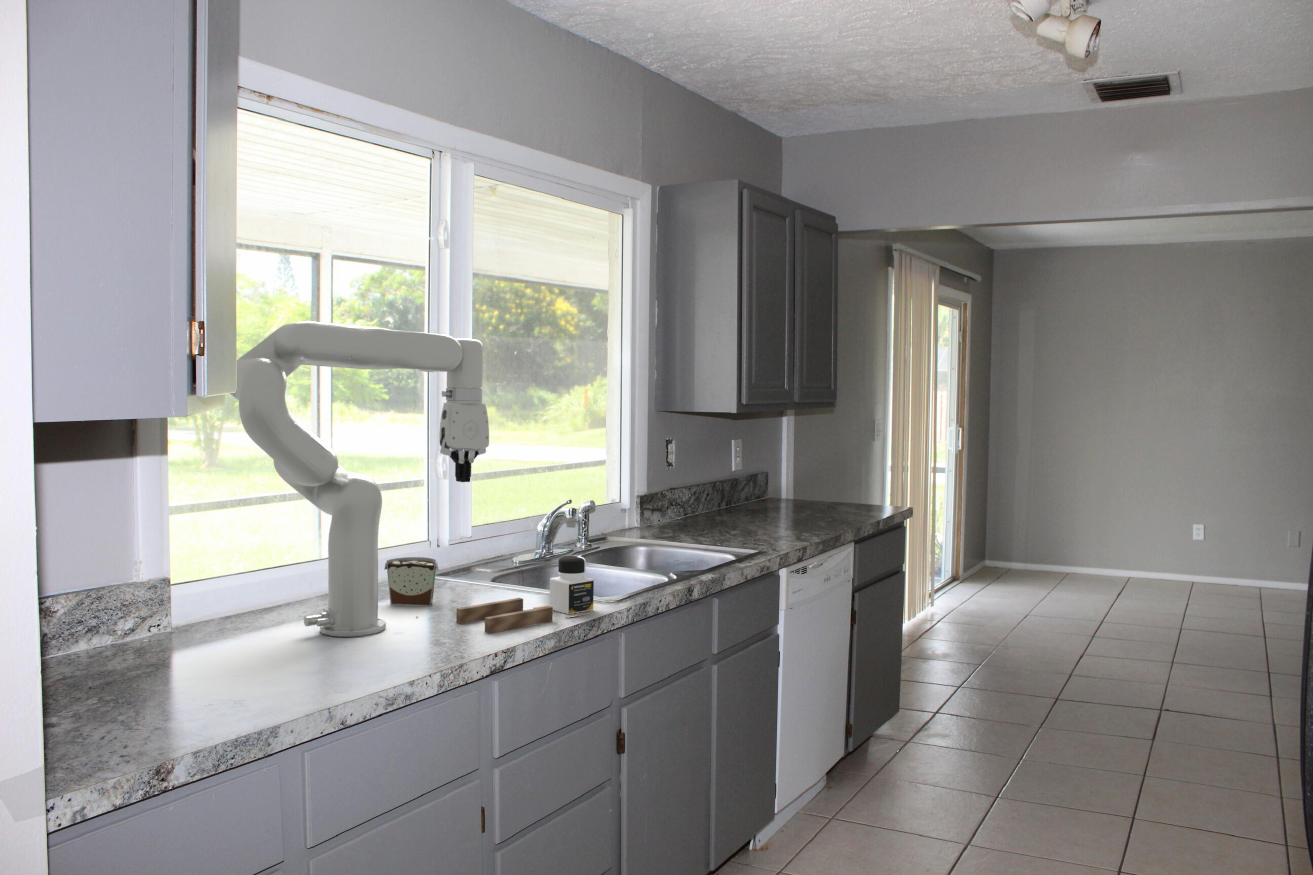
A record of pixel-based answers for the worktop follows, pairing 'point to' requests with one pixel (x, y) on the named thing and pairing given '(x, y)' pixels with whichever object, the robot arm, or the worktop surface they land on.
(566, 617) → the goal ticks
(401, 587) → the food container
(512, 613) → the chute
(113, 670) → the worktop surface
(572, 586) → the medicine bottle
